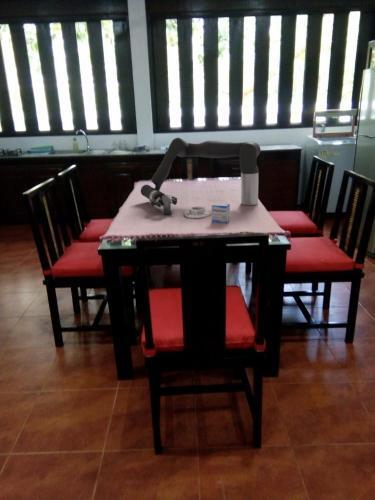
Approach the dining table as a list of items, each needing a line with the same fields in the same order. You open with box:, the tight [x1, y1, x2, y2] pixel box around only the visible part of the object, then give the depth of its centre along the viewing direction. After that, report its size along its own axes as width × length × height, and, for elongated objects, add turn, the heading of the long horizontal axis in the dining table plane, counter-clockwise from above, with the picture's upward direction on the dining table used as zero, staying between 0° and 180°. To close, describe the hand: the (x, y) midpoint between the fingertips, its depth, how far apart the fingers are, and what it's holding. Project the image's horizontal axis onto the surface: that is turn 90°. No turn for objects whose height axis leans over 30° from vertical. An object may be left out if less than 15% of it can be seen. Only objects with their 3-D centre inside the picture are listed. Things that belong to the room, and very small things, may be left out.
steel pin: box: [162, 194, 172, 216], centre depth 206 cm, size 4×4×10 cm
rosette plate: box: [183, 206, 212, 219], centre depth 204 cm, size 14×14×3 cm
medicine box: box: [211, 203, 231, 224], centre depth 189 cm, size 8×4×9 cm, turn 68°
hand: (167, 204), depth 204 cm, fingers open, 8 cm apart
